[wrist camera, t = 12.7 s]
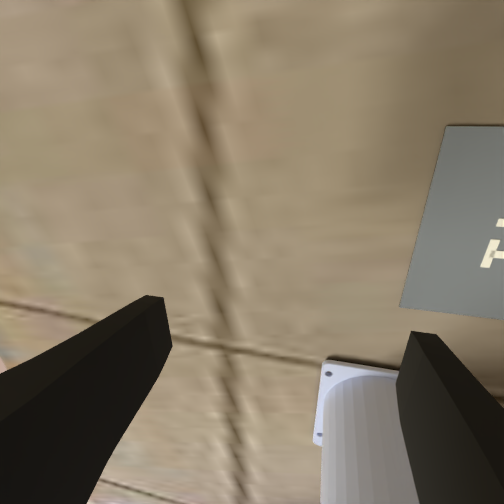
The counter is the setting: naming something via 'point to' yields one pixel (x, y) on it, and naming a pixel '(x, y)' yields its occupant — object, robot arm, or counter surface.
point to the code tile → (462, 229)
